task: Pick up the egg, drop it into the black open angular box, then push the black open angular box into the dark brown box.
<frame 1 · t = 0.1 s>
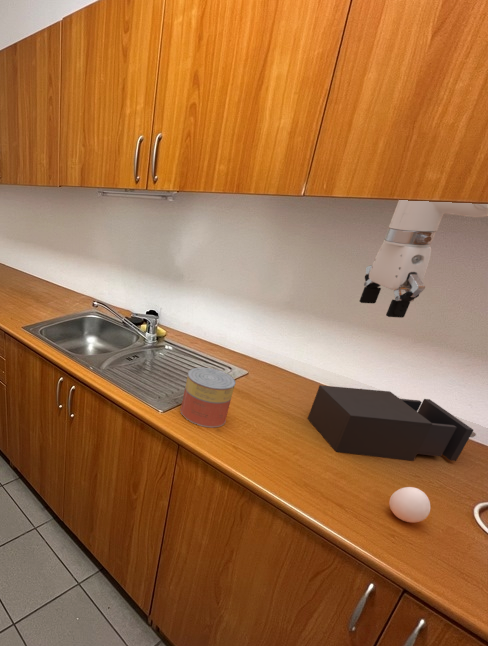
hand: (380, 309, 94), 32 cm above the worktop, tool pointing down, fingers open, 9 cm apart
dark brown box: (356, 438, 99), on the worktop
black open angular box: (415, 426, 95), point 5 cm above the worktop, slide at 7.0 cm
egg: (402, 519, 77), on the worktop
canned food: (202, 415, 110), on the worktop
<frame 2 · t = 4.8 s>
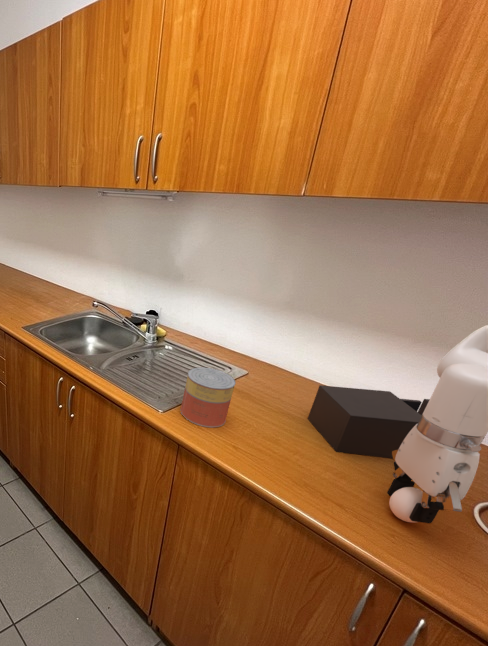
hand: (408, 507, 76), 3 cm above the worktop, tool pointing down, fingers closed on egg, 5 cm apart
egg: (402, 519, 77), on the worktop, touching gripper
everything else where it was.
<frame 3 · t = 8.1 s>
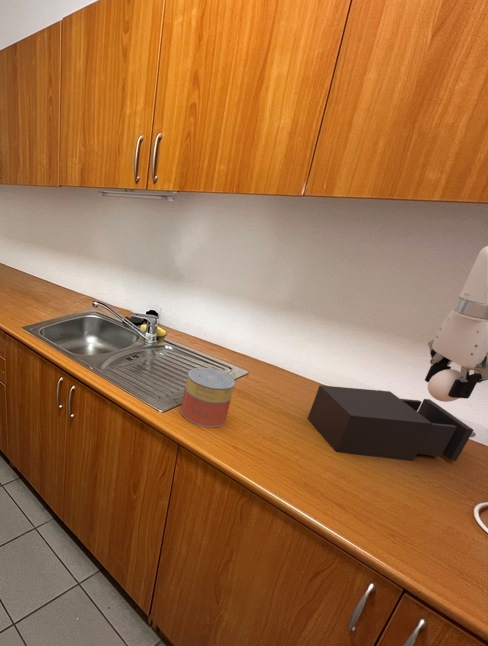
hand: (445, 388, 84), 20 cm above the worktop, tool pointing down, fingers closed on egg, 5 cm apart
egg: (439, 400, 85), point 17 cm above the worktop, touching gripper
everything else where it was.
when the fingers open (11 cm above the worktop, at t = 11.4 s): egg drops 5 cm, resting on black open angular box.
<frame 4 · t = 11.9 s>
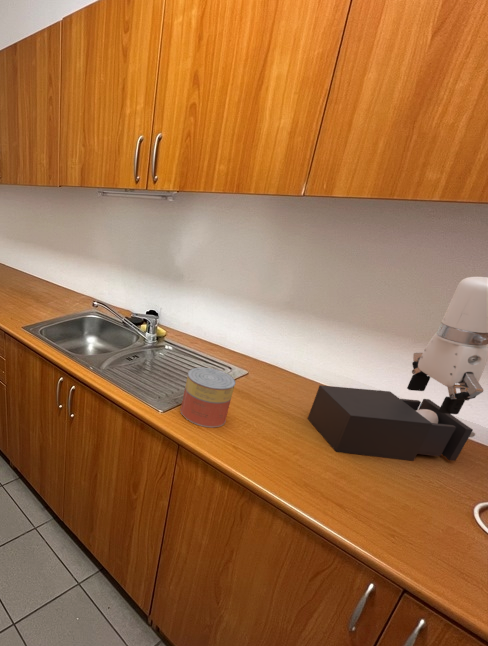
hand: (430, 401, 92), 13 cm above the worktop, tool pointing down, fingers open, 9 cm apart
black open angular box: (415, 426, 95), point 5 cm above the worktop, slide at 6.9 cm, touching egg
egg: (406, 434, 96), point 3 cm above the worktop, touching black open angular box
everything else where it was.
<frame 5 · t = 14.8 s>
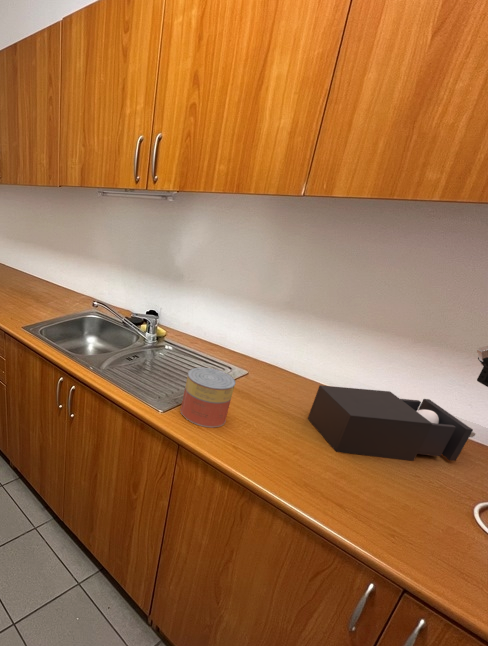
nothing on the worktop moved.
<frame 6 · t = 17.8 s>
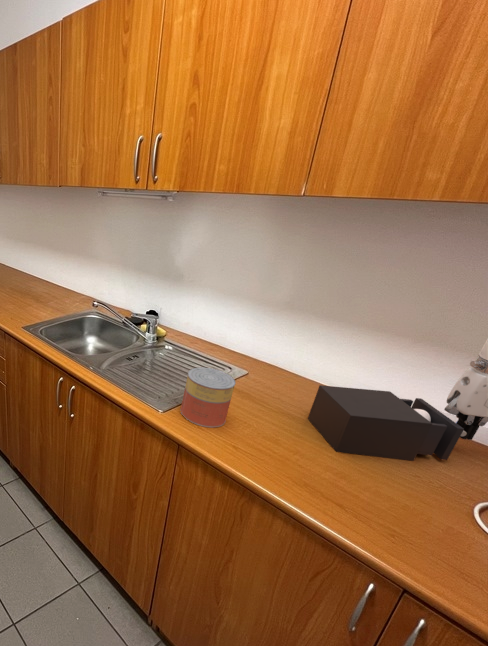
hand: (461, 435, 94), 4 cm above the worktop, tool pointing down, fingers closed
black open angular box: (407, 425, 95), point 5 cm above the worktop, slide at 5.3 cm, touching egg, gripper
egg: (398, 433, 97), point 3 cm above the worktop, touching black open angular box
everything else where it was.
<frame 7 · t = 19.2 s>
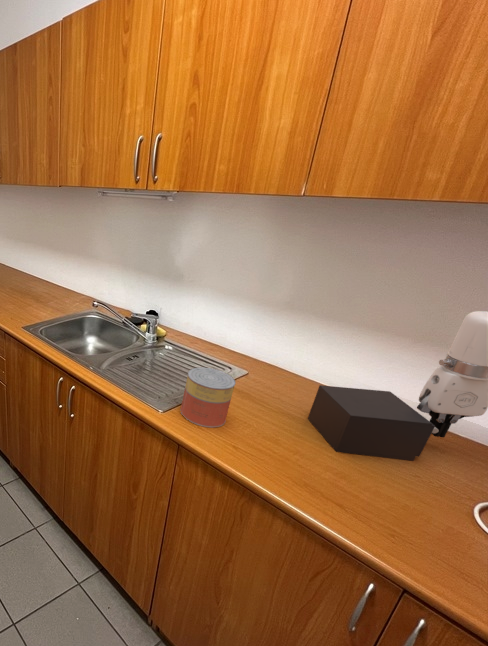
hand: (434, 433, 95), 4 cm above the worktop, tool pointing down, fingers closed
black open angular box: (381, 422, 97), point 5 cm above the worktop, slide at 0.0 cm, touching dark brown box, egg, gripper
egg: (373, 430, 98), point 3 cm above the worktop, touching dark brown box, black open angular box
everything else where it was.
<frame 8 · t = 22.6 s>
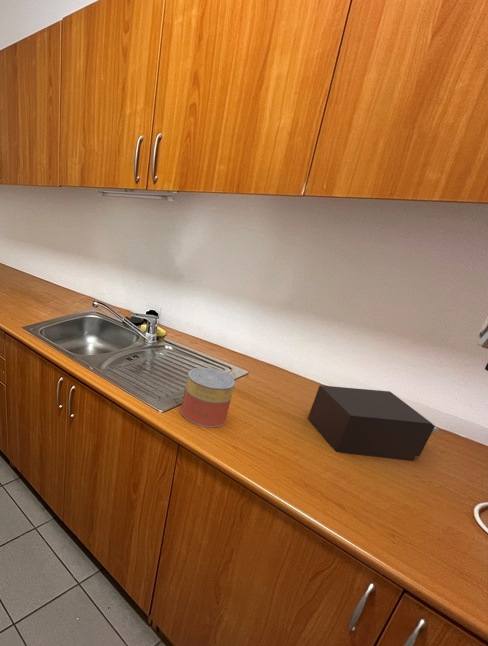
black open angular box: (381, 422, 97), point 5 cm above the worktop, slide at 0.0 cm, touching dark brown box, egg
everything else where it was.
at the end: egg inside the target area in the dark brown box (2.9 cm from its centre), point 2.7 cm above the dark brown box's base; black open angular box slide at 0.0 cm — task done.
